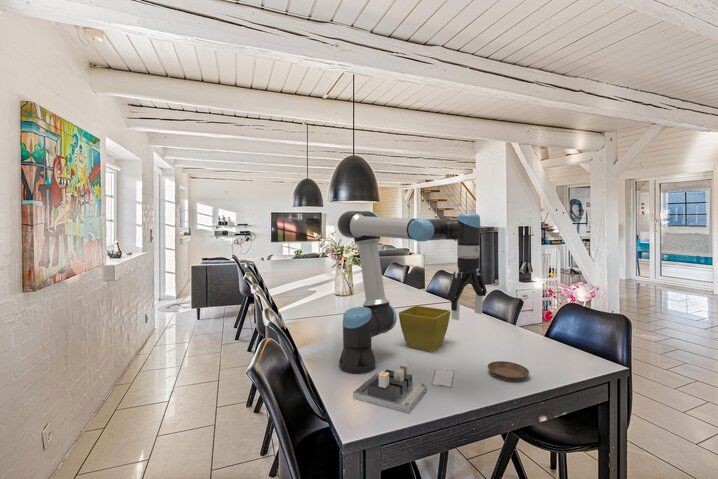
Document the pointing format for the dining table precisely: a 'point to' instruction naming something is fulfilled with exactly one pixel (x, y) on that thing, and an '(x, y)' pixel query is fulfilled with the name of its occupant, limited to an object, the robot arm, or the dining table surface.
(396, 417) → the dining table surface
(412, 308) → the flower pot
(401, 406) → the panel
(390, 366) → the dining table surface
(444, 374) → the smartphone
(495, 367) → the saucer
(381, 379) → the block with orange pad
